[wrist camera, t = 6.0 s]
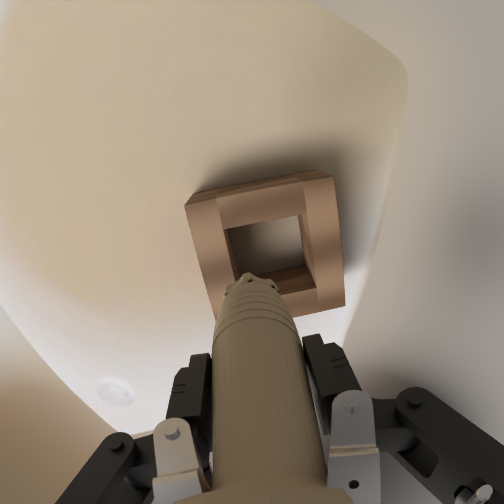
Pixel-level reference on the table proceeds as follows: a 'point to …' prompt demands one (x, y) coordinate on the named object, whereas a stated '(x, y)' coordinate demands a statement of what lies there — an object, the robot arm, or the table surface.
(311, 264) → the wooden block
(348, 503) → the handle
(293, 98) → the table surface
